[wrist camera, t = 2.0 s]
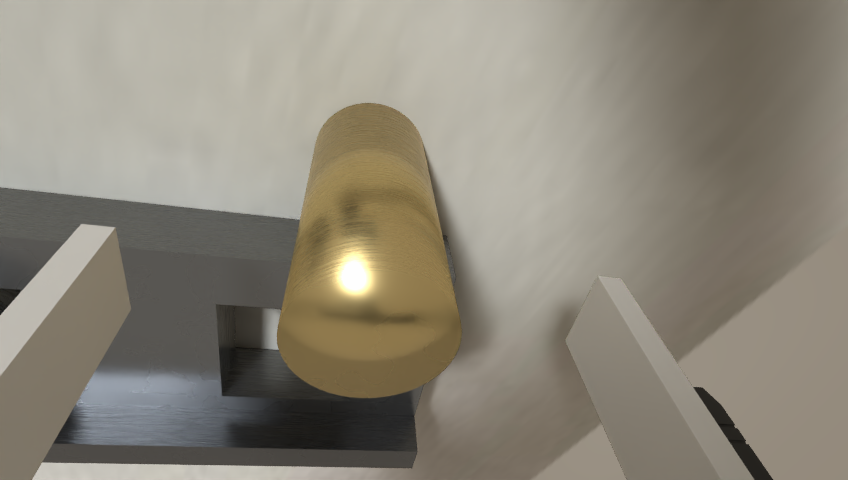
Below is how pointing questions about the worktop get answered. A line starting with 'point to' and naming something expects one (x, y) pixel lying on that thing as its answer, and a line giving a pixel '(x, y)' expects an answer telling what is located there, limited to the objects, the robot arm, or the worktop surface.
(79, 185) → the worktop surface
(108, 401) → the jig
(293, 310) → the gold metal cylinder
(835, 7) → the worktop surface
